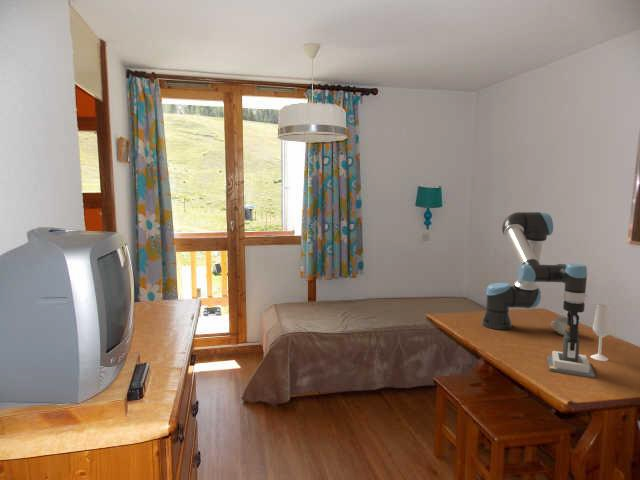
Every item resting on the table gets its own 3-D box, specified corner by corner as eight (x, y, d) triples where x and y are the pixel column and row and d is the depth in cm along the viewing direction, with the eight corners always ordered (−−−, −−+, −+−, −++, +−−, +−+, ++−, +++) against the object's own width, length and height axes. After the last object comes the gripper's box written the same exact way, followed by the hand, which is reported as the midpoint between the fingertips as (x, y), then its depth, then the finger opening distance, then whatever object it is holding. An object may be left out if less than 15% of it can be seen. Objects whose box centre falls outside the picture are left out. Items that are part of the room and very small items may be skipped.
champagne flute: (600, 361, 185) (604, 308, 182) (586, 355, 191) (590, 304, 188) (612, 360, 187) (616, 307, 184) (598, 354, 193) (602, 303, 190)
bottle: (572, 358, 182) (574, 324, 180) (581, 363, 176) (583, 329, 174) (559, 358, 182) (561, 324, 180) (567, 364, 176) (569, 329, 174)
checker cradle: (547, 357, 190) (547, 348, 189) (589, 363, 183) (589, 354, 183) (549, 370, 175) (549, 361, 175) (594, 378, 169) (595, 368, 168)
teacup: (571, 331, 225) (572, 316, 224) (582, 338, 214) (583, 323, 213) (544, 330, 226) (545, 316, 225) (553, 337, 215) (554, 322, 214)
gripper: (587, 307, 166) (583, 364, 169) (581, 297, 183) (578, 348, 185) (565, 305, 169) (562, 361, 172) (561, 295, 186) (558, 345, 189)
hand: (570, 354), depth 179 cm, fingers closed on bottle, 6 cm apart
